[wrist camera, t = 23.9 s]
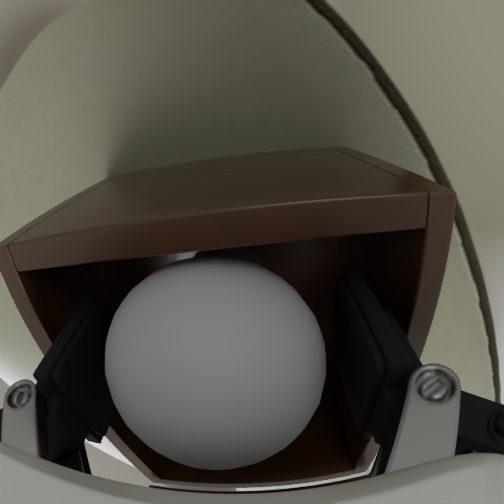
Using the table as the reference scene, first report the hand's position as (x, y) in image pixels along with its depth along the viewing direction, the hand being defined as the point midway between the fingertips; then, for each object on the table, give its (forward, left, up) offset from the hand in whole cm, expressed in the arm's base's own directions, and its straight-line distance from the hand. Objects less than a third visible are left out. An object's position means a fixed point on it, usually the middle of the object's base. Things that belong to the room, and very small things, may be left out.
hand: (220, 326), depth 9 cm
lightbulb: (0, 0, -6) cm, 6 cm away
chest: (+4, 0, -7) cm, 8 cm away
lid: (+8, 0, +10) cm, 13 cm away
